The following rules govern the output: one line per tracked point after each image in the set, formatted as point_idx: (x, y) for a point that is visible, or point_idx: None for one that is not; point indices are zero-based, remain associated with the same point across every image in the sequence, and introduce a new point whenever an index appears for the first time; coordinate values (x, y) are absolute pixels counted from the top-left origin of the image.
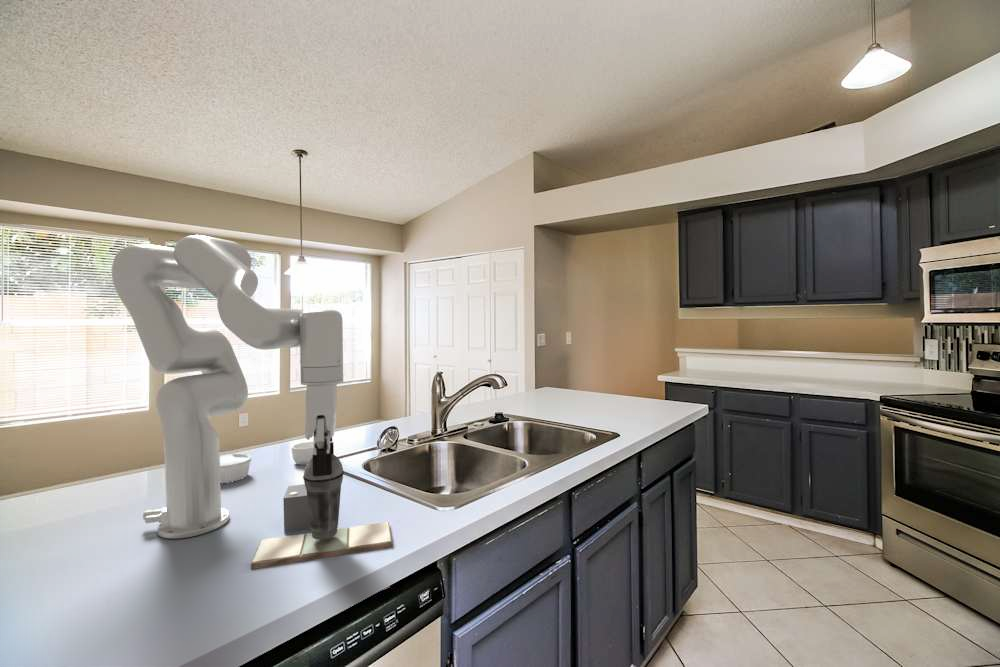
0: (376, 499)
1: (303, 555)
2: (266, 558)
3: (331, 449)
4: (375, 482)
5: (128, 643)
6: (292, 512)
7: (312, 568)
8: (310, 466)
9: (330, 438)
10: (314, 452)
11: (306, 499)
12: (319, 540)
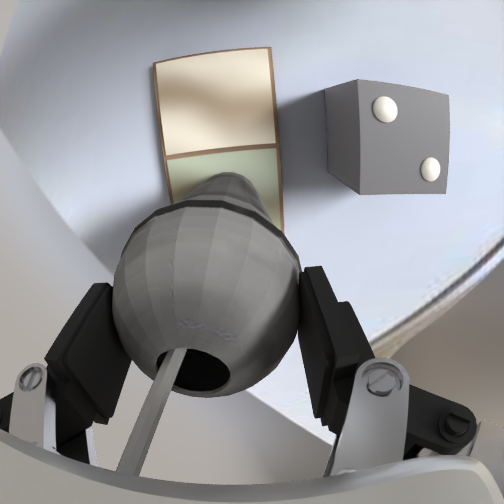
0: (418, 276)
1: (167, 163)
2: (164, 87)
3: (309, 388)
4: (483, 266)
5: (23, 20)
6: (341, 106)
7: (135, 188)
8: (122, 284)
9: (334, 443)
10: (20, 380)
11: (355, 149)
12: None
